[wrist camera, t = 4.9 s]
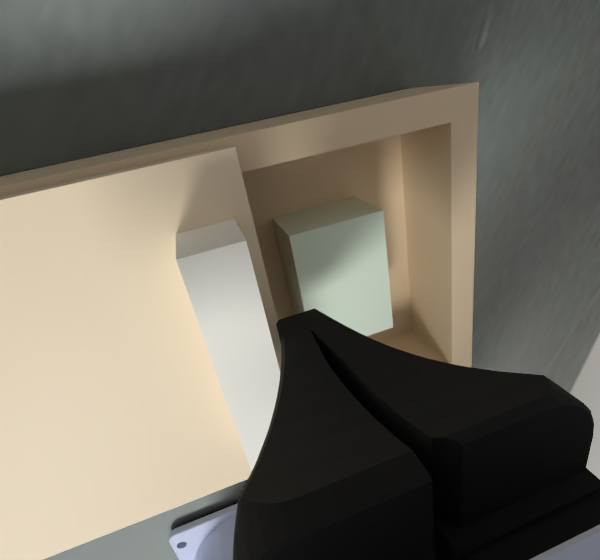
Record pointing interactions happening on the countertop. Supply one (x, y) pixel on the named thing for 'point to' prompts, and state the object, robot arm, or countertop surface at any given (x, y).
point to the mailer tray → (355, 195)
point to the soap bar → (338, 263)
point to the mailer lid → (129, 349)
